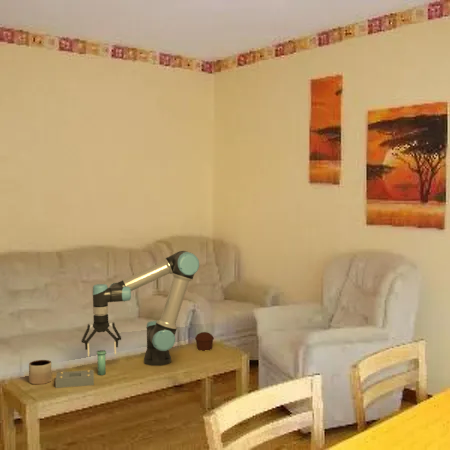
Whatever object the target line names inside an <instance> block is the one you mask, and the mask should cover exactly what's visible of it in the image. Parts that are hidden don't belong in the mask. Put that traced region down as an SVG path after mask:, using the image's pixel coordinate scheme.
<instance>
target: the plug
mask: <svg viewBox="0 0 450 450" xmlns="http://www.w3.org/2000/svg"><path fill="white" fill-rule="evenodd" d="M106 354H107V350H104V349H103V350H102V349H100V350H97V351H96V355H97V376H105V375H106V373H107V371H106V370H107V368H106Z"/></svg>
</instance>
